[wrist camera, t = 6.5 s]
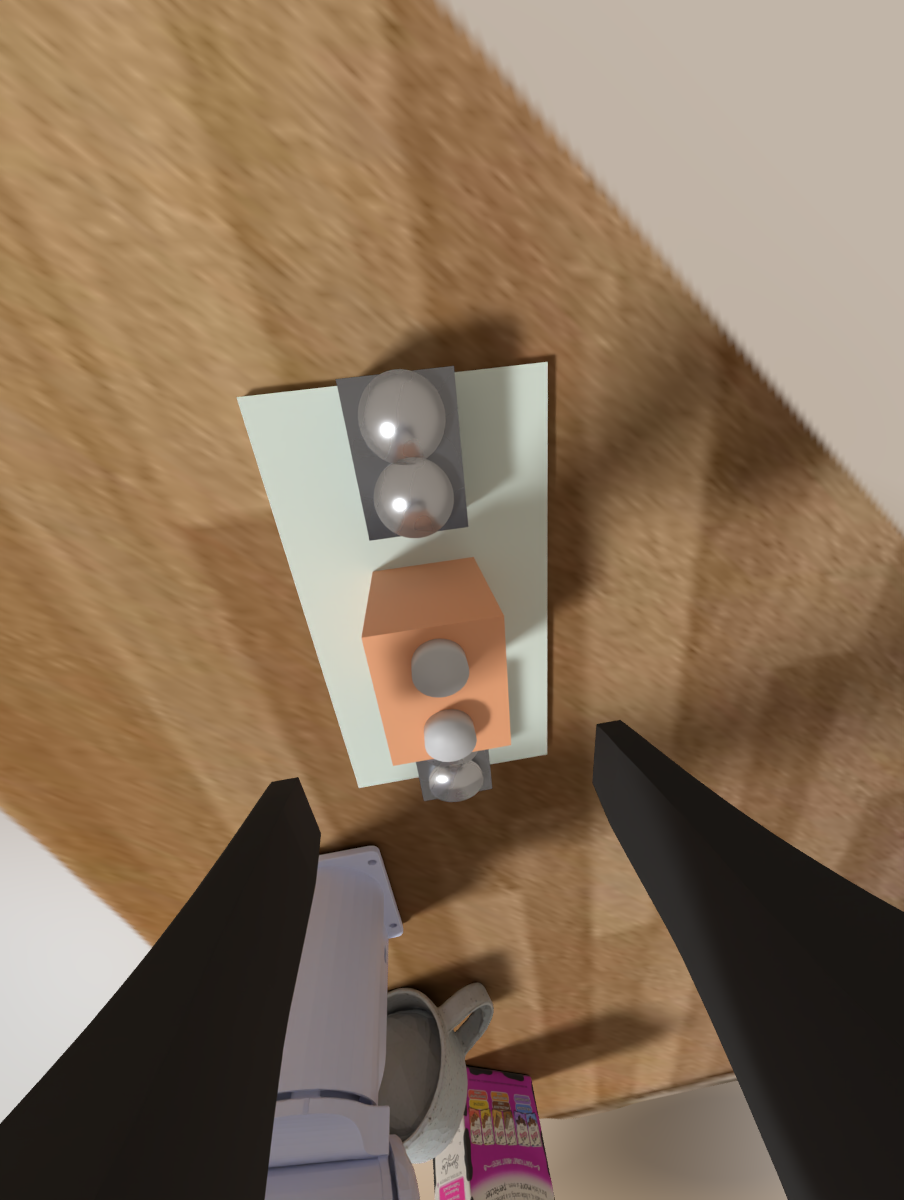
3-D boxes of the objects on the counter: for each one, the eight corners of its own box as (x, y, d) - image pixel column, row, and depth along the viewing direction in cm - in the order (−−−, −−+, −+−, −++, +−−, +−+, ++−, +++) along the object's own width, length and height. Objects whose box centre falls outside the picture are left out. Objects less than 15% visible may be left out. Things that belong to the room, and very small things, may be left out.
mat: (544, 748, 21) (547, 754, 21) (359, 781, 20) (359, 787, 20) (543, 363, 13) (547, 361, 13) (241, 397, 12) (236, 397, 12)
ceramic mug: (387, 1038, 34) (386, 1194, 27) (347, 1003, 31) (334, 1173, 24) (500, 999, 34) (527, 1146, 27) (473, 959, 31) (497, 1117, 24)
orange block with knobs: (482, 660, 18) (515, 759, 13) (394, 675, 17) (392, 781, 12) (473, 557, 15) (509, 626, 10) (372, 571, 15) (359, 649, 10)
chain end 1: (459, 513, 15) (470, 530, 12) (374, 524, 14) (369, 545, 12) (445, 371, 13) (455, 362, 10) (345, 383, 12) (333, 376, 10)
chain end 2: (483, 752, 20) (493, 795, 18) (421, 763, 20) (424, 807, 18) (476, 681, 18) (486, 719, 16) (407, 692, 18) (408, 732, 16)
